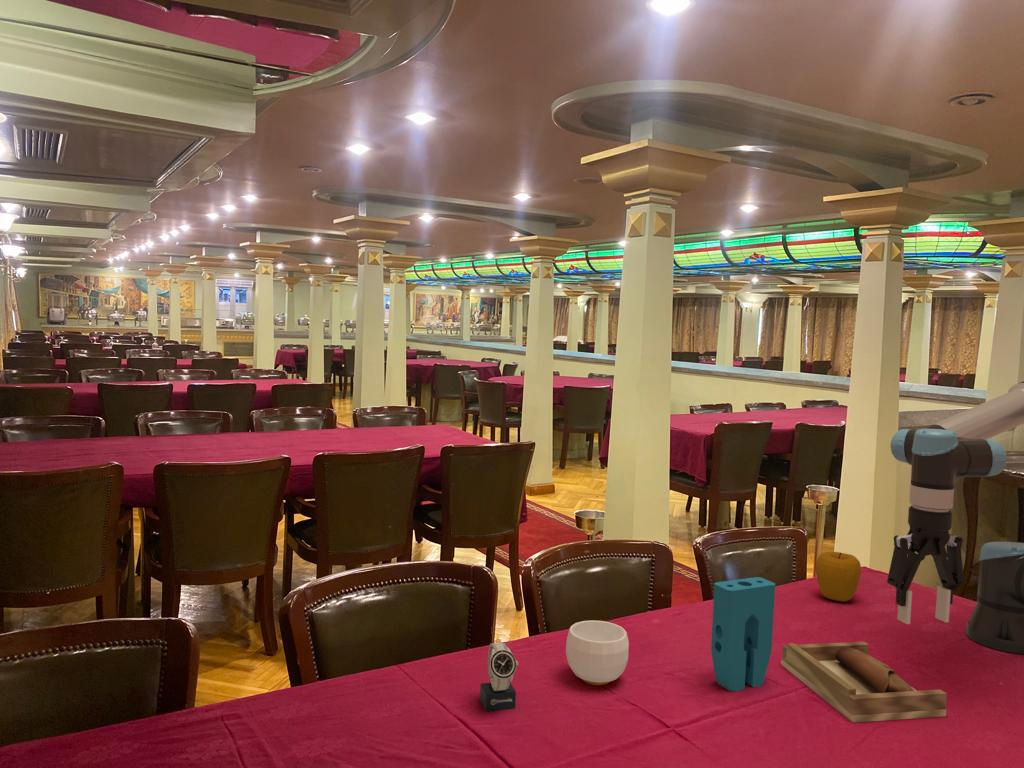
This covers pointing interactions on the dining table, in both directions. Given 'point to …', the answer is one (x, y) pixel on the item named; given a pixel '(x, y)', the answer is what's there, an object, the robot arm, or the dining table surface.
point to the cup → (597, 651)
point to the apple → (838, 575)
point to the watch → (499, 679)
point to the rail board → (856, 686)
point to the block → (742, 631)
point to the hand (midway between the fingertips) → (922, 620)
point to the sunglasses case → (872, 671)
